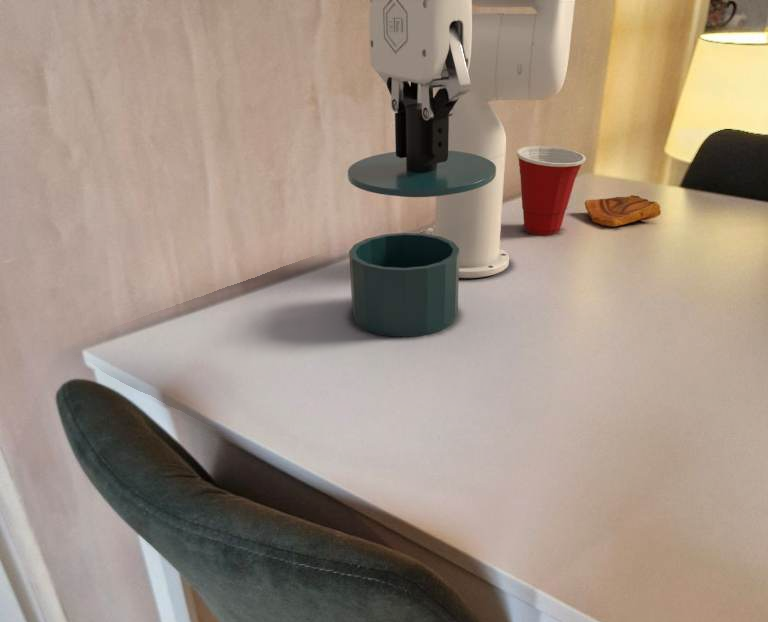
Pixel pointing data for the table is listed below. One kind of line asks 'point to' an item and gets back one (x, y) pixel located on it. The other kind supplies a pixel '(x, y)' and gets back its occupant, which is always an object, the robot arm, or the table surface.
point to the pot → (404, 284)
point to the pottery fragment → (621, 210)
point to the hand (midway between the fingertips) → (421, 157)
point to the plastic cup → (546, 186)
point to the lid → (420, 169)
